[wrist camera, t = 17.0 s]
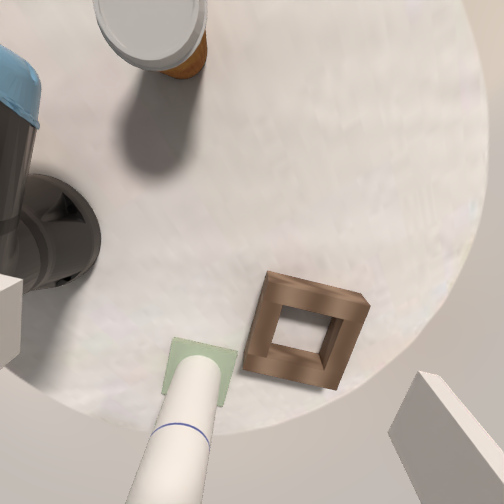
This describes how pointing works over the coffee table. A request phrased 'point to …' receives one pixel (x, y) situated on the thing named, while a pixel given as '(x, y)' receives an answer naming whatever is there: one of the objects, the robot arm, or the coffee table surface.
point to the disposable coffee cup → (156, 33)
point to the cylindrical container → (180, 437)
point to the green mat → (191, 348)
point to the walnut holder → (299, 361)
